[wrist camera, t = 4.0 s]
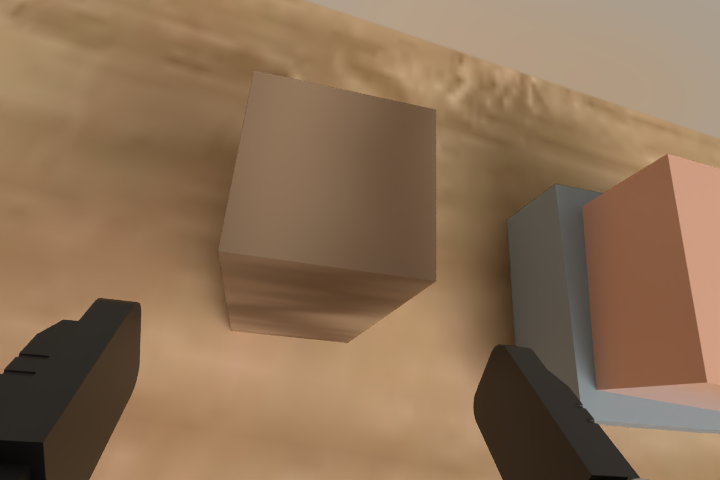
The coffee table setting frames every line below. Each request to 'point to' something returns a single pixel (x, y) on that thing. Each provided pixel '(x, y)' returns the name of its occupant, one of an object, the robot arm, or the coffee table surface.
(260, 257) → the pillar
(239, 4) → the coffee table surface
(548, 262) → the tower base
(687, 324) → the tower cap
